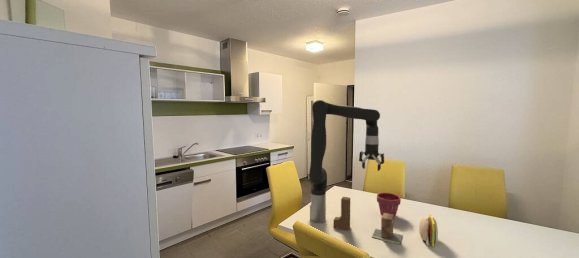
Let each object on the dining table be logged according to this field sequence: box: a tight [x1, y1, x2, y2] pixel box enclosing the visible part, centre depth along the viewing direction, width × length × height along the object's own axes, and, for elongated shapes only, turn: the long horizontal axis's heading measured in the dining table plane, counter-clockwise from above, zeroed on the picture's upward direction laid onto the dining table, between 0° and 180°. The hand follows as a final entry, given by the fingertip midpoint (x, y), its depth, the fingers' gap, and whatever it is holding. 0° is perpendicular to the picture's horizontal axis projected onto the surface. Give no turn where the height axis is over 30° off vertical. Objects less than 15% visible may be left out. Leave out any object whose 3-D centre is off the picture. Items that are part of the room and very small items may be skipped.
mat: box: [371, 228, 403, 245], centre depth 131 cm, size 14×10×1 cm
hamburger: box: [418, 213, 439, 247], centre depth 127 cm, size 12×8×12 cm
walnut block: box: [380, 213, 394, 240], centre depth 131 cm, size 5×7×11 cm
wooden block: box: [333, 196, 351, 231], centre depth 142 cm, size 9×4×18 cm, turn 64°
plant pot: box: [376, 192, 401, 219], centre depth 157 cm, size 14×14×13 cm
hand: (371, 169), depth 145 cm, fingers open, 8 cm apart
